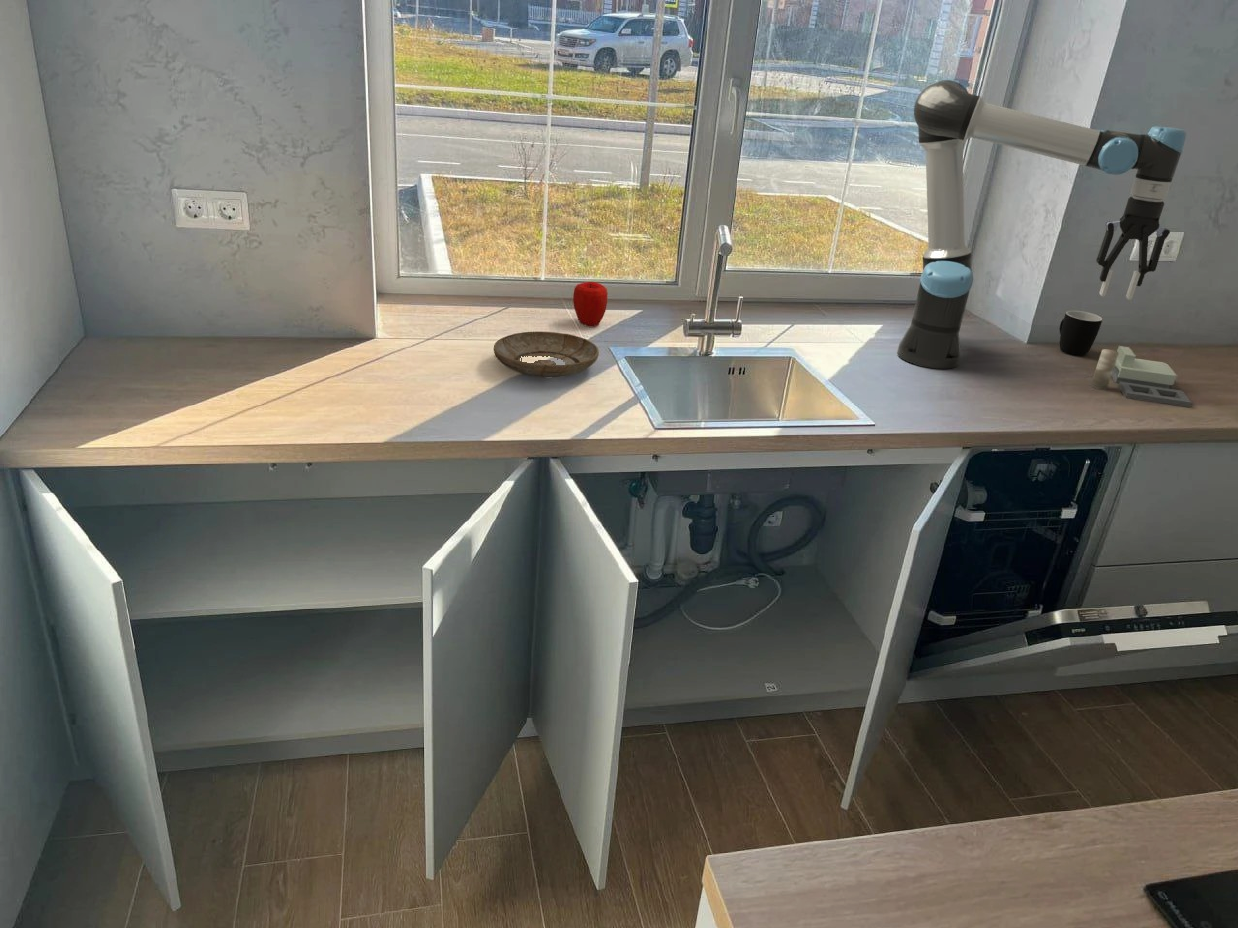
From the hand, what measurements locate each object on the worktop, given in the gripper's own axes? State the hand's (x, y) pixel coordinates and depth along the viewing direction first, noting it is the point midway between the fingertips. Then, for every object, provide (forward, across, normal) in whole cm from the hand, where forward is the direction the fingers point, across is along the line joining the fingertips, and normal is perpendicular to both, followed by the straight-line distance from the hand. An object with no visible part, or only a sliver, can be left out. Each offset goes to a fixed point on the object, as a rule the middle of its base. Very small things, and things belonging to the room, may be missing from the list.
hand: (1115, 296), depth 221 cm
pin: (+20, 0, -10) cm, 22 cm away
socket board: (+20, +12, -11) cm, 26 cm away
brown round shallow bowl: (+20, -125, -56) cm, 138 cm away
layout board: (+20, +11, 0) cm, 23 cm away
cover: (+18, +11, 0) cm, 21 cm away
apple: (+20, -125, -22) cm, 128 cm away
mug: (+20, -2, +18) cm, 27 cm away
